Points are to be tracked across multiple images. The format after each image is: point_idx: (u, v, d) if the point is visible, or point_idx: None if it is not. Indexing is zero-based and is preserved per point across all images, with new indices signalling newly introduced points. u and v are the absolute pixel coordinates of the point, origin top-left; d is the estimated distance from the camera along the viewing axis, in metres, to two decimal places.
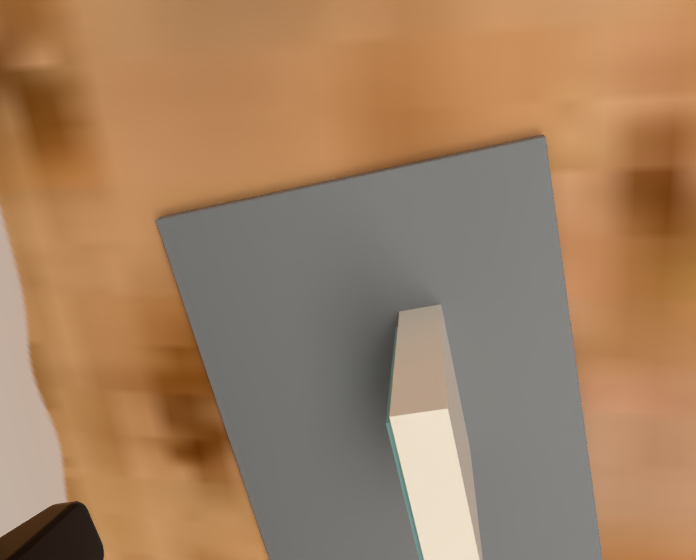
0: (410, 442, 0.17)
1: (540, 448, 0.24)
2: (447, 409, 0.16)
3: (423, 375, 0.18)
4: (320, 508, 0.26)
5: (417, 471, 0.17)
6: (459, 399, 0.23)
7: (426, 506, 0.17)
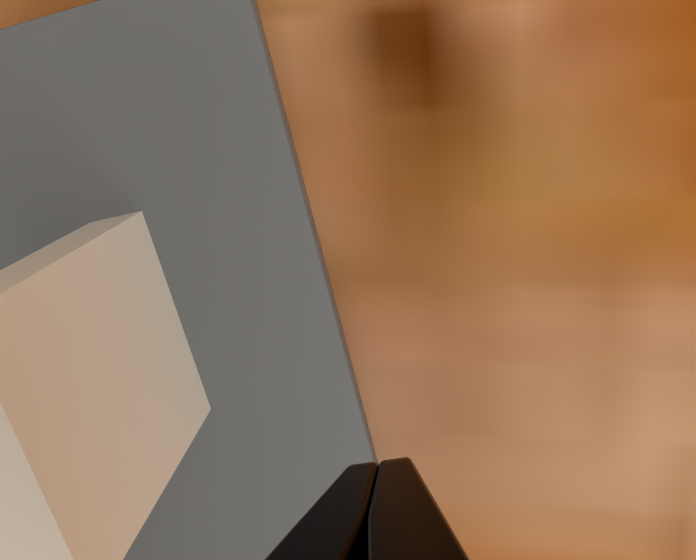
0: None
1: (299, 408, 0.18)
2: None
3: None
4: None
5: None
6: (176, 341, 0.17)
7: None
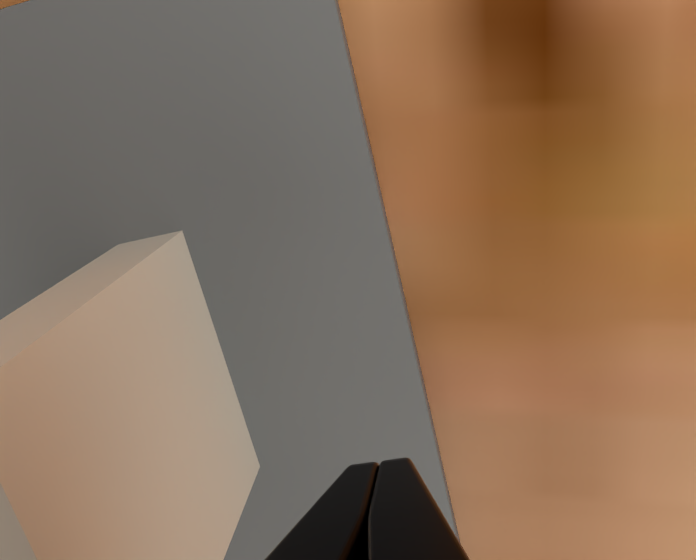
0: None
1: None
2: None
3: (11, 335, 0.09)
4: None
5: None
6: (223, 388, 0.14)
7: None
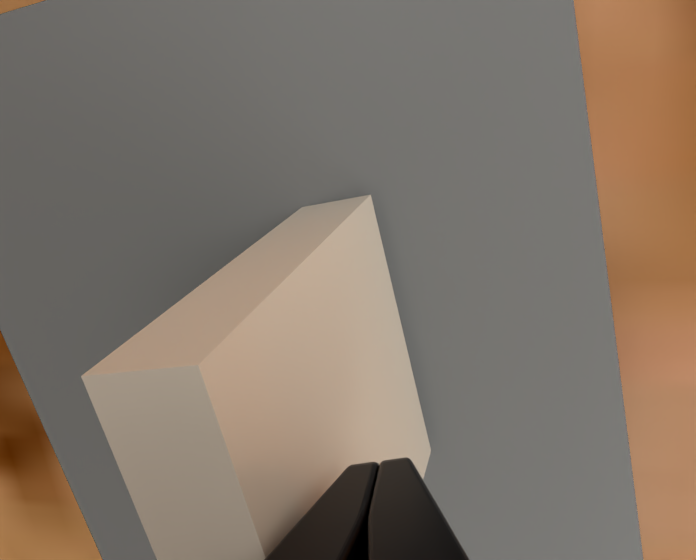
0: (135, 439, 0.07)
1: (549, 443, 0.14)
2: (199, 367, 0.07)
3: (227, 299, 0.08)
4: None
5: (162, 505, 0.07)
6: (402, 366, 0.13)
7: None
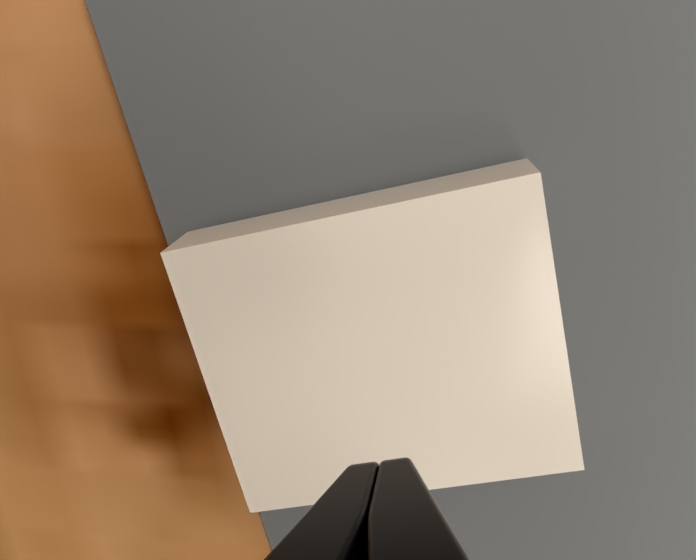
0: None
1: None
2: (162, 254, 0.12)
3: (263, 223, 0.12)
4: None
5: None
6: (536, 363, 0.12)
7: None
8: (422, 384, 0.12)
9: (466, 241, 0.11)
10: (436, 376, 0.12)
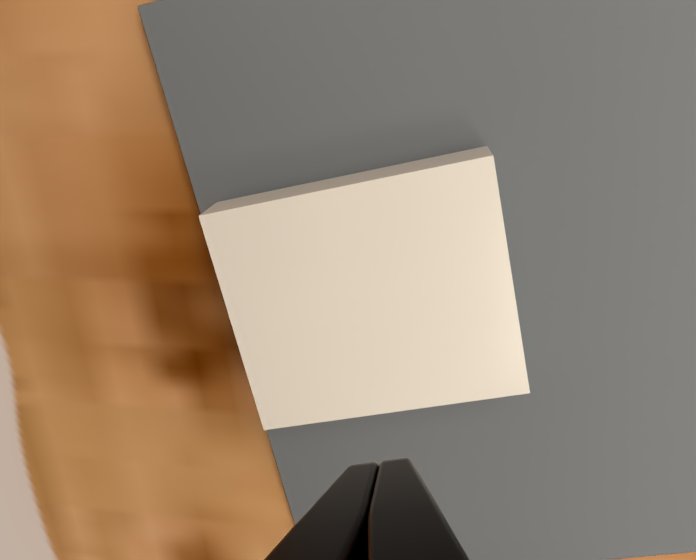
0: None
1: (685, 352, 0.17)
2: (200, 217, 0.15)
3: (279, 194, 0.16)
4: (364, 444, 0.19)
5: None
6: (491, 306, 0.15)
7: None
8: (402, 323, 0.16)
9: (437, 208, 0.15)
10: (413, 316, 0.16)
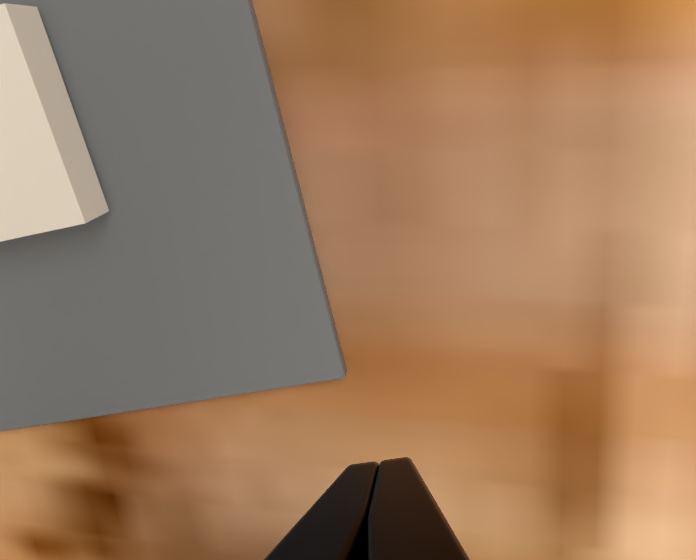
0: None
1: (242, 195, 0.20)
2: None
3: None
4: (2, 292, 0.22)
5: None
6: (35, 142, 0.18)
7: None
8: None
9: None
10: None
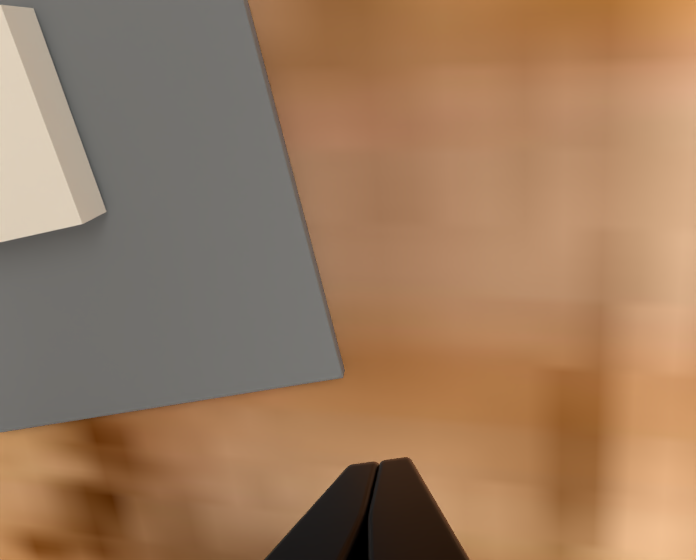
0: None
1: (239, 195, 0.20)
2: None
3: None
4: (0, 294, 0.22)
5: None
6: (32, 143, 0.18)
7: None
8: None
9: None
10: None
